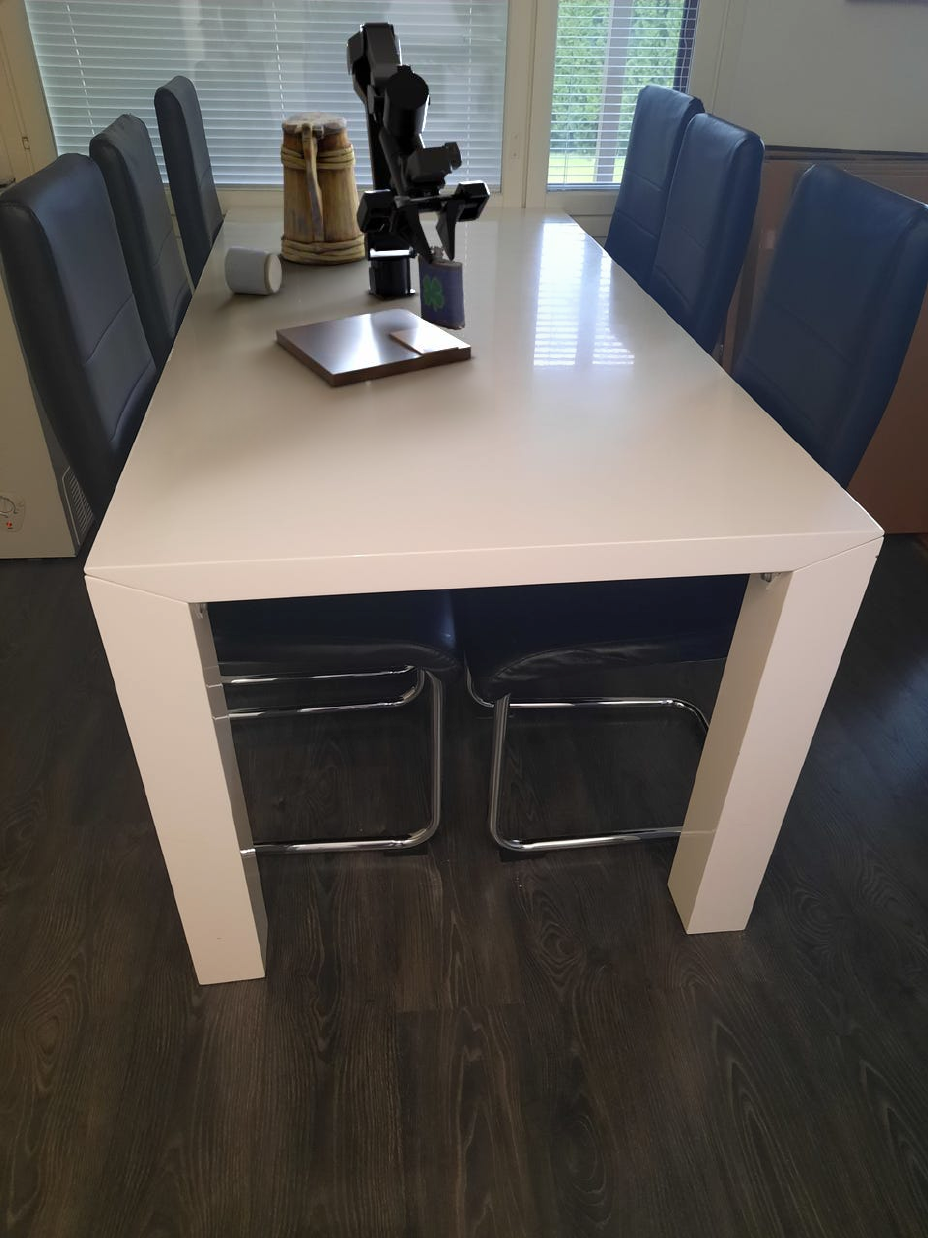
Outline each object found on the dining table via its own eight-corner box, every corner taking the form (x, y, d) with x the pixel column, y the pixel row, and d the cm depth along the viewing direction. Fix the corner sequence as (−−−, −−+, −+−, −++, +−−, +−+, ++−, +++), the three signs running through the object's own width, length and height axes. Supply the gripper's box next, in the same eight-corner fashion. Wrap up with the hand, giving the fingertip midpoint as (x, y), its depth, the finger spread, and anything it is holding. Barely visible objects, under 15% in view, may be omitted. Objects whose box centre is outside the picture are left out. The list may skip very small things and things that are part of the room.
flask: (469, 327, 124) (465, 249, 117) (453, 332, 122) (448, 253, 116) (431, 313, 130) (425, 238, 123) (415, 318, 128) (409, 242, 122)
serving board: (402, 318, 142) (402, 305, 141) (471, 358, 127) (471, 344, 125) (277, 341, 133) (275, 327, 132) (334, 387, 118) (332, 372, 116)
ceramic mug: (270, 299, 150) (264, 253, 146) (227, 297, 152) (220, 251, 147) (292, 284, 159) (287, 240, 154) (251, 282, 160) (245, 238, 156)
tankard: (369, 242, 184) (361, 108, 170) (370, 271, 166) (361, 123, 151) (285, 244, 183) (268, 109, 168) (276, 274, 164) (257, 124, 149)
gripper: (357, 123, 111) (393, 233, 109) (485, 115, 117) (521, 218, 116) (341, 180, 121) (375, 281, 120) (460, 169, 128) (493, 265, 126)
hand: (441, 260), depth 120 cm, fingers closed on flask, 3 cm apart
